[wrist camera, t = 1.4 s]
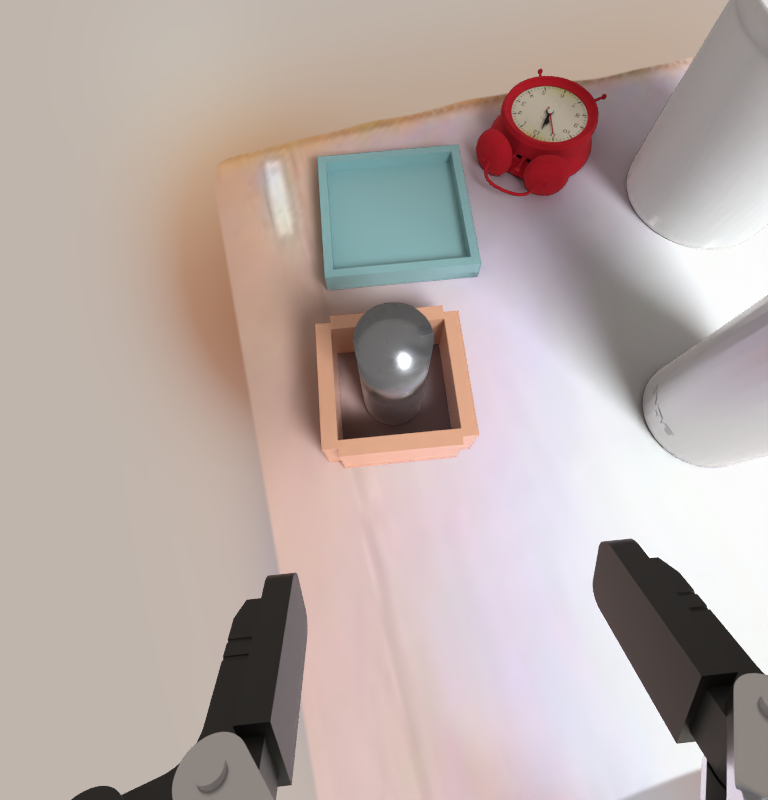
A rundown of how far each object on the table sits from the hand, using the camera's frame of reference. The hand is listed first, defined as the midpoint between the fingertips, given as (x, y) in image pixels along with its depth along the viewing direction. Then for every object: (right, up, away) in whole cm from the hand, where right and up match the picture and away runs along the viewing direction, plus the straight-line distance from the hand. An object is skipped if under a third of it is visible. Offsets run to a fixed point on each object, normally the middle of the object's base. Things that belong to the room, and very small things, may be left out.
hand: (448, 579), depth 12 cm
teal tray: (-1, +22, +32) cm, 39 cm away
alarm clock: (+14, +30, +35) cm, 48 cm away
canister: (-1, +5, +26) cm, 27 cm away
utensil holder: (+29, +25, +33) cm, 51 cm away
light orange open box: (-1, +5, +26) cm, 27 cm away
